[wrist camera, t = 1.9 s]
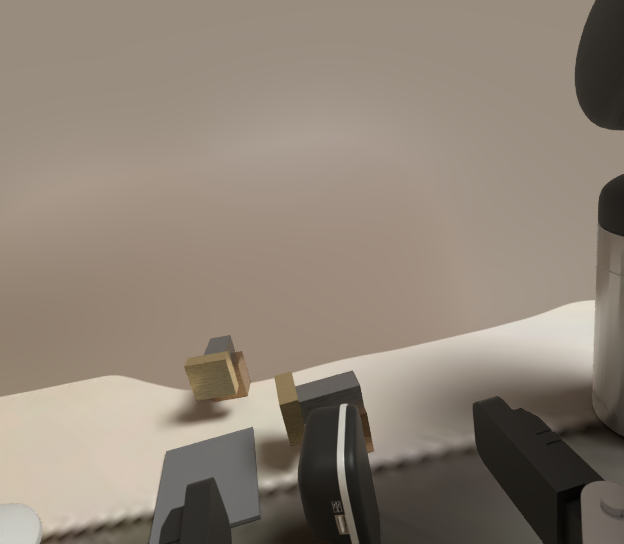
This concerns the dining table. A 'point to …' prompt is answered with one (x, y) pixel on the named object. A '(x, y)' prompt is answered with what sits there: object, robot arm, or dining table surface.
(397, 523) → the dining table surface
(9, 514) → the candlestick
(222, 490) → the plate
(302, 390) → the set of rectangular blocks
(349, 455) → the battery charger
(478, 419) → the robot arm
